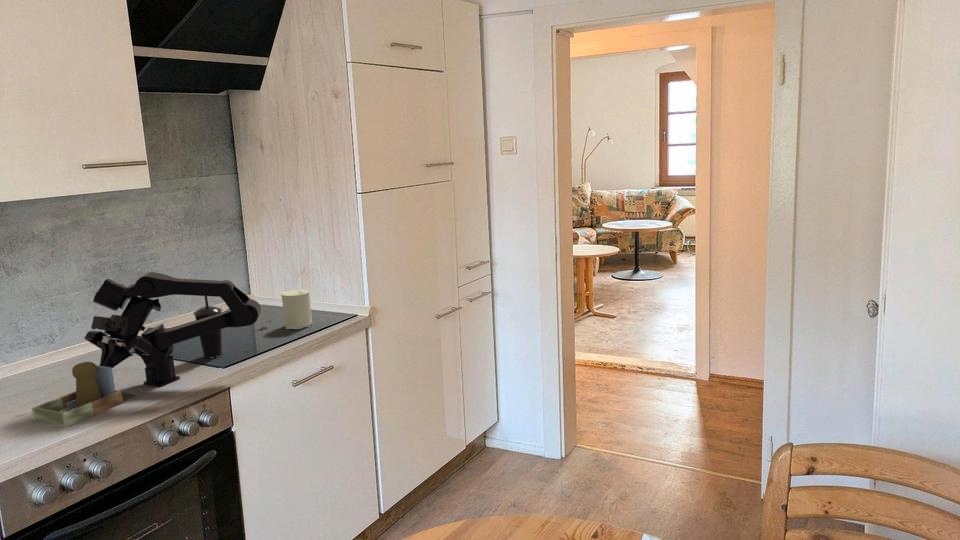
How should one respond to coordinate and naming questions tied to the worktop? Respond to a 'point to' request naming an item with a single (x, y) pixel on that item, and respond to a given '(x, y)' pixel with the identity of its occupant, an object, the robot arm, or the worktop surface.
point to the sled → (101, 383)
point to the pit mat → (126, 395)
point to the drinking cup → (213, 339)
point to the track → (52, 415)
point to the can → (296, 308)
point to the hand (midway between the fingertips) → (100, 373)
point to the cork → (86, 383)
